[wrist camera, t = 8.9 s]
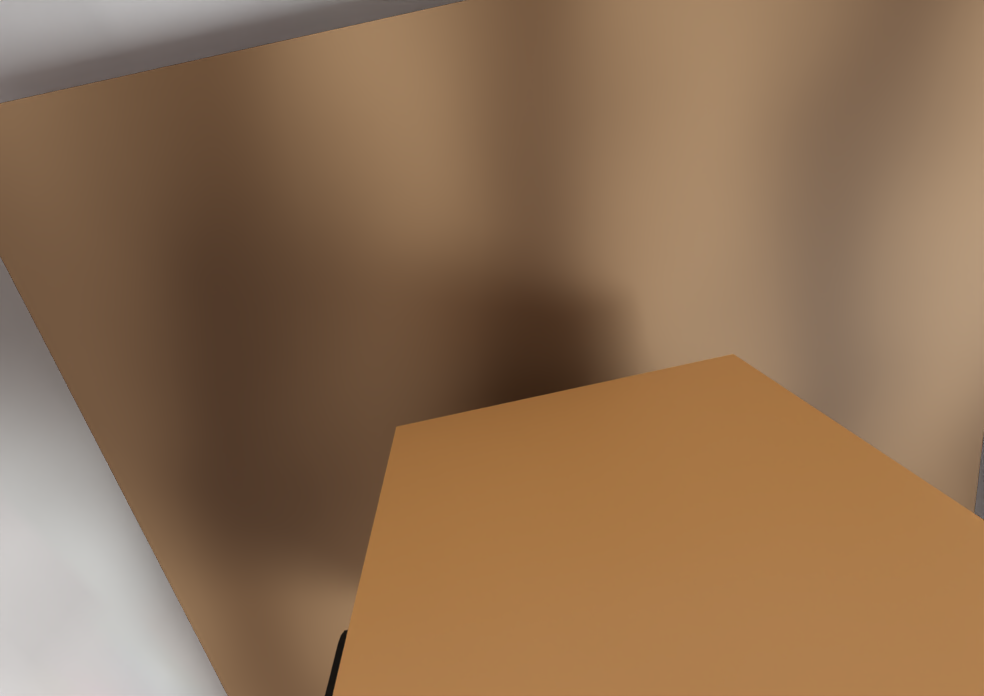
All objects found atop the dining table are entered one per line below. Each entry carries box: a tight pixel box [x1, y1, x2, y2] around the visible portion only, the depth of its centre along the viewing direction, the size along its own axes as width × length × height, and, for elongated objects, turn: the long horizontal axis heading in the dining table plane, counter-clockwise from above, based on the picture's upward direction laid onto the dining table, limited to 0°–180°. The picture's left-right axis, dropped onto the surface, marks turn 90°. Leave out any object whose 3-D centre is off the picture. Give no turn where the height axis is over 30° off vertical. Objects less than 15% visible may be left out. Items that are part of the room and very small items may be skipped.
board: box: [0, 0, 984, 696], centre depth 11 cm, size 20×20×7 cm
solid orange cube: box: [333, 354, 984, 696], centre depth 8 cm, size 6×6×6 cm
